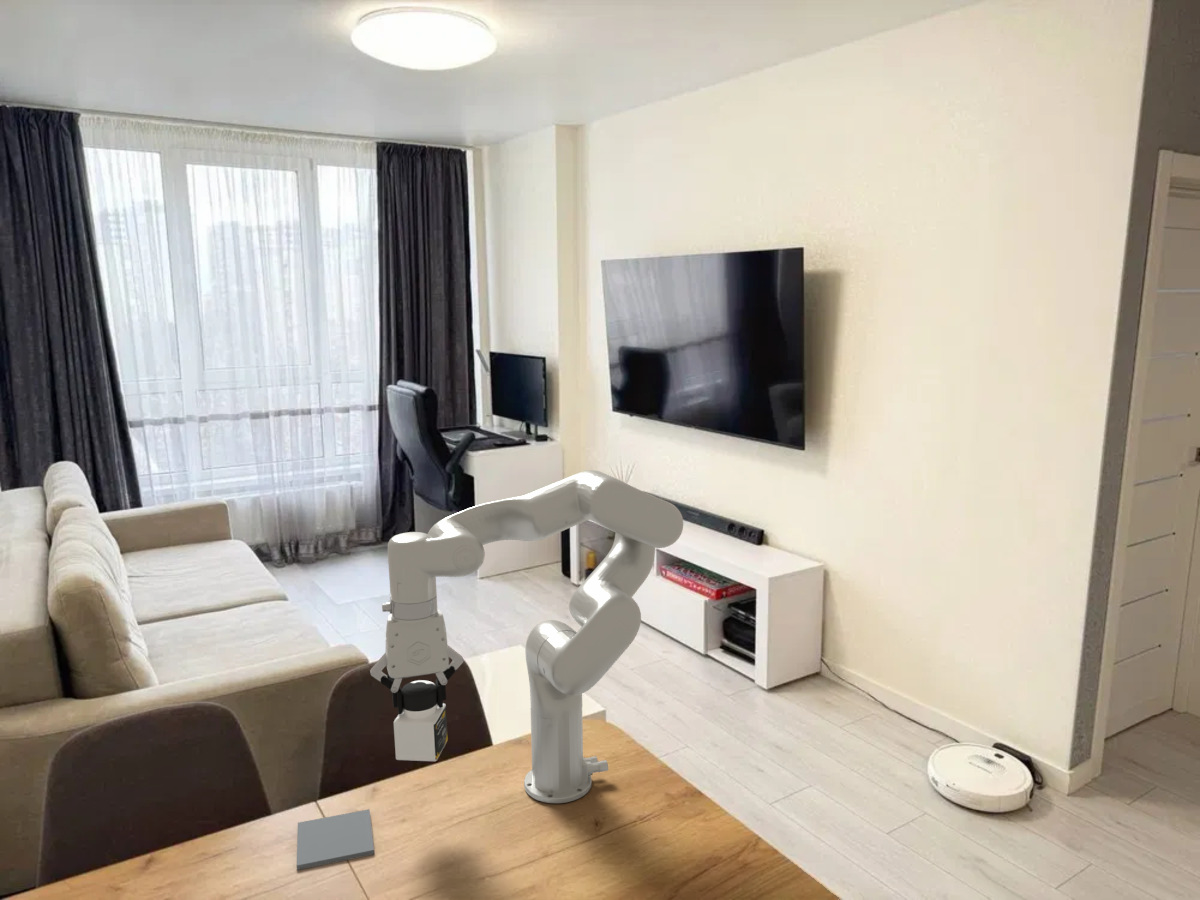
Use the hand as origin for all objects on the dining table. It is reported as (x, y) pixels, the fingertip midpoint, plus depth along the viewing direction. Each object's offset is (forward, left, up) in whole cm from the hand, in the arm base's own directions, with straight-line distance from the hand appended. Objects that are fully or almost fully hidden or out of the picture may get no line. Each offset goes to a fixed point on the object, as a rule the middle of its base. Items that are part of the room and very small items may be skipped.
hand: (419, 706), depth 145 cm
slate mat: (+15, +1, -21) cm, 26 cm away
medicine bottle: (0, 0, -8) cm, 8 cm away
